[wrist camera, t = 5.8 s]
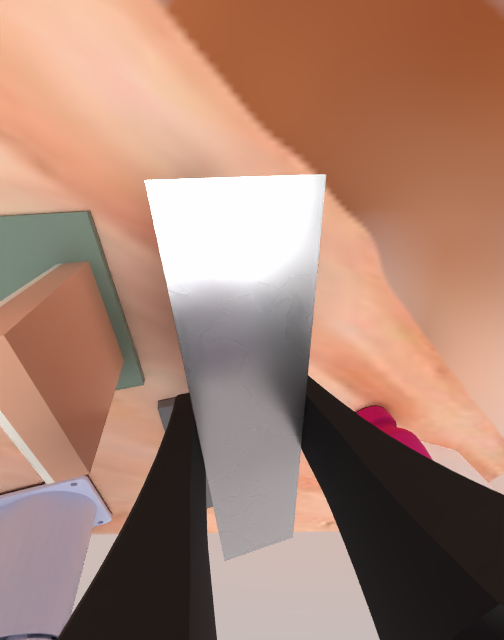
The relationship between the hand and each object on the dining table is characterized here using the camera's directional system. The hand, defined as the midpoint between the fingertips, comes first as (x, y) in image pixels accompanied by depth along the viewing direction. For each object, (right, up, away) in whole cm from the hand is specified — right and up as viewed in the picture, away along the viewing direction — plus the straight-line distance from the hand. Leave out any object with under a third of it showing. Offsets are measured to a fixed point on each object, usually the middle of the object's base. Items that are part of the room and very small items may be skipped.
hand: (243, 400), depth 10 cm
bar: (-1, +1, +3) cm, 3 cm away
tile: (-10, +3, +6) cm, 12 cm away
